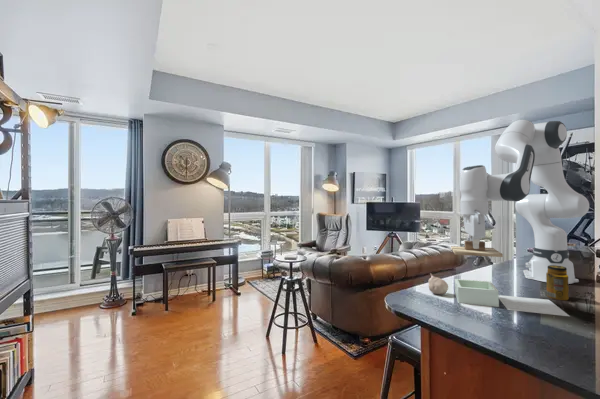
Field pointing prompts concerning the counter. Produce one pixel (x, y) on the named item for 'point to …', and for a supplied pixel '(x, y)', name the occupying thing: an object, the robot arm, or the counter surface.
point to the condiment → (557, 282)
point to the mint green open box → (476, 292)
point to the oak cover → (475, 250)
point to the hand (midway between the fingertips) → (474, 247)
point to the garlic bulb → (437, 285)
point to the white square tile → (531, 305)
